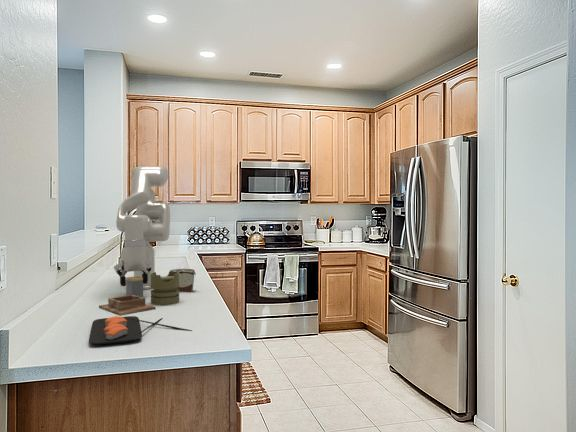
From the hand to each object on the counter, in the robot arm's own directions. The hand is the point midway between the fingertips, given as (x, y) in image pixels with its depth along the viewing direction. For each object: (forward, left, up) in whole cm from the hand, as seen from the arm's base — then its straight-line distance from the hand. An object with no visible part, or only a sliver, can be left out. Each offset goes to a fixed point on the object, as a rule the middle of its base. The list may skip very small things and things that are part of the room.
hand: (134, 284), depth 192 cm
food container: (0, +25, -6) cm, 25 cm away
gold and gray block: (-1, +1, -6) cm, 6 cm away
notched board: (+14, -10, -6) cm, 19 cm away
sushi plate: (+46, -21, -7) cm, 52 cm away
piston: (+15, +6, -6) cm, 17 cm away
